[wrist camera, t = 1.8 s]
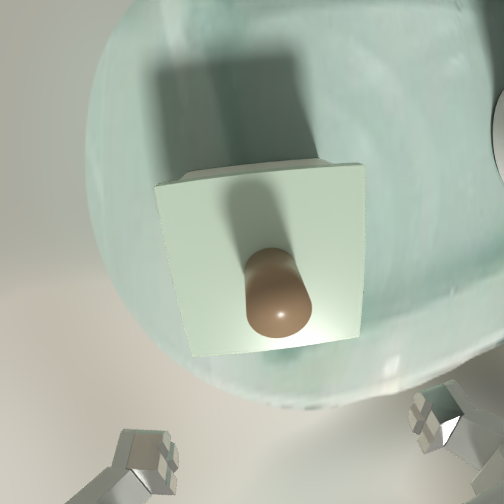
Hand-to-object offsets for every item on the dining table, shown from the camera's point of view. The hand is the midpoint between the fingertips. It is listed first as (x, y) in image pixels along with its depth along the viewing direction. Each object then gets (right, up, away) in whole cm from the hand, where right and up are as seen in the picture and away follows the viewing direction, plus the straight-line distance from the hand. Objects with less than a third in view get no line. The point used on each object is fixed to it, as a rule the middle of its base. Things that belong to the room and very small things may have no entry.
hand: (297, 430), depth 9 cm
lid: (0, +5, +13) cm, 14 cm away
